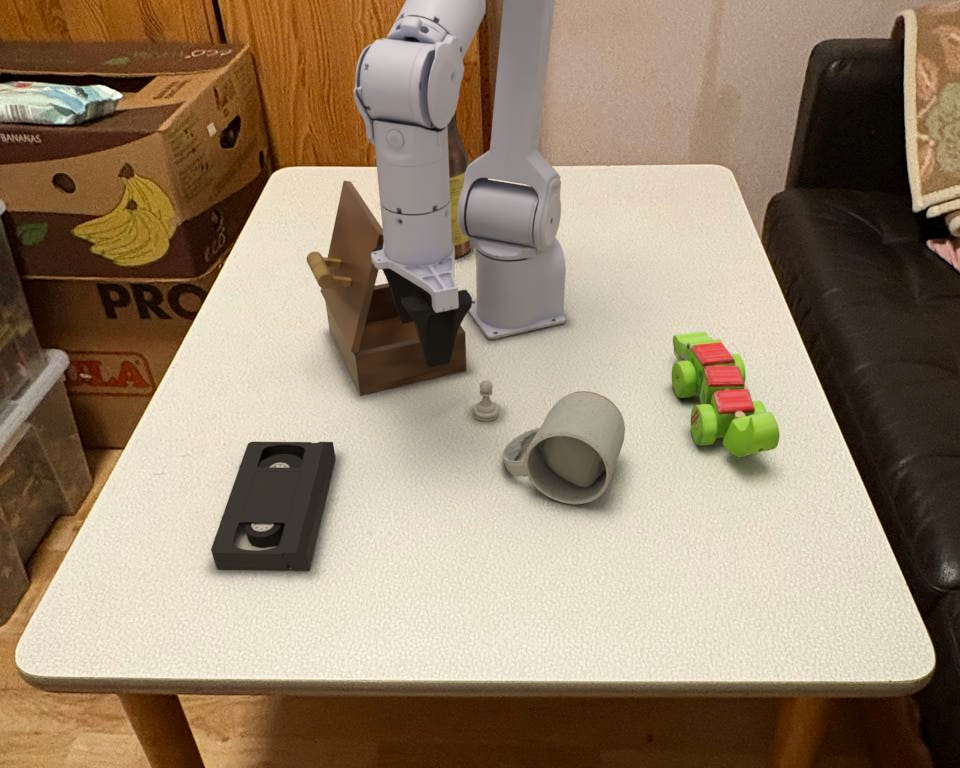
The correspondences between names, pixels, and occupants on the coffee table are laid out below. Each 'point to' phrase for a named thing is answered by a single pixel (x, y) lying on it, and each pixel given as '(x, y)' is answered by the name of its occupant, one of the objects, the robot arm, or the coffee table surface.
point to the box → (391, 349)
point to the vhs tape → (275, 507)
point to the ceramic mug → (571, 448)
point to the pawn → (486, 404)
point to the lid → (349, 265)
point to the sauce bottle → (456, 185)
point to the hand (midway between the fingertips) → (424, 341)
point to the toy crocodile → (720, 396)
